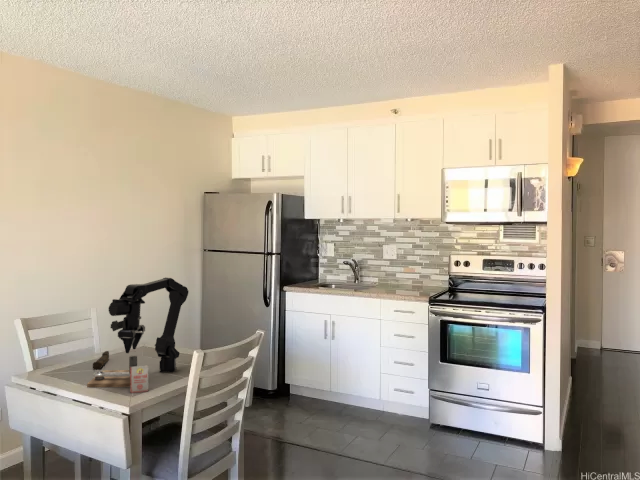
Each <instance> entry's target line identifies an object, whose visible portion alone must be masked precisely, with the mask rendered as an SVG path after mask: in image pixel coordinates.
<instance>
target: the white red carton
mask: <svg viewBox="0 0 640 480" xmlns="http://www.w3.org/2000/svg"><path fill="white" fill-rule="evenodd" d="M130 386H131V387H130V394H133V393H143V392H149V365H139V366H138V365H137V366H136V367H130Z"/></svg>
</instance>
